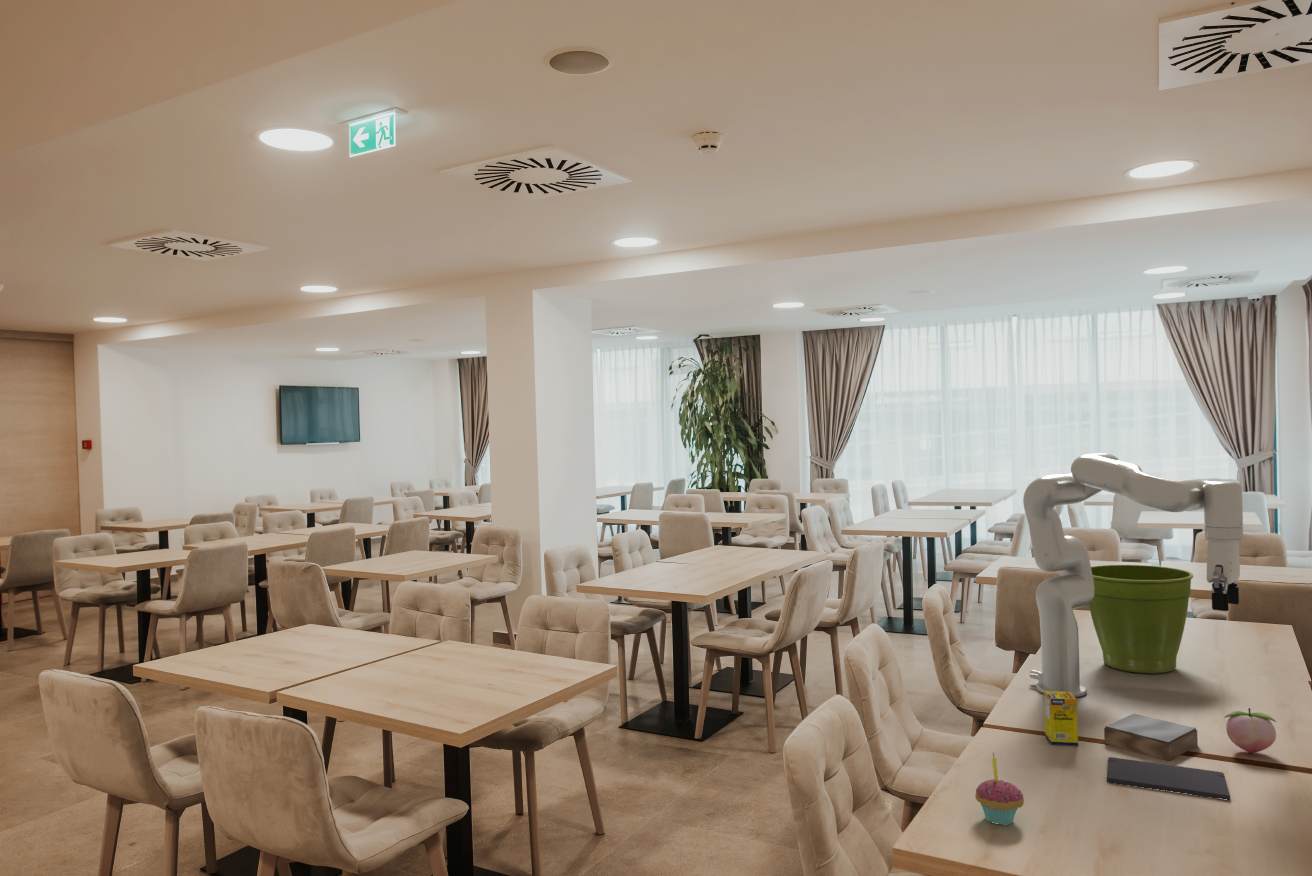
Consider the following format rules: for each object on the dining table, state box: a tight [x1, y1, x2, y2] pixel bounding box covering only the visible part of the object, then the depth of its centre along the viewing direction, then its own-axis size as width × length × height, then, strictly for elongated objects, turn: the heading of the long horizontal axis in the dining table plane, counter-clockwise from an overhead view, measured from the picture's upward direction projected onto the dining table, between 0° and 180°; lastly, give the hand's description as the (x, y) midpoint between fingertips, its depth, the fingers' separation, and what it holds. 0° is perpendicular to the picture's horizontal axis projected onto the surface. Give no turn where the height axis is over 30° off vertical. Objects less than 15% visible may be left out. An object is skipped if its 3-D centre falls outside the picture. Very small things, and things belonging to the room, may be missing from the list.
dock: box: [1103, 713, 1199, 762], centre depth 197 cm, size 14×14×4 cm
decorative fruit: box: [1224, 707, 1277, 754], centre depth 190 cm, size 9×8×10 cm
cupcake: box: [974, 752, 1025, 825], centre depth 162 cm, size 9×8×12 cm
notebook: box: [1106, 756, 1231, 801], centre depth 177 cm, size 13×2×21 cm
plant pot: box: [1088, 564, 1194, 674], centre depth 259 cm, size 30×30×29 cm
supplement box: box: [1043, 691, 1079, 747], centre depth 200 cm, size 6×6×11 cm
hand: (1225, 606), depth 201 cm, fingers open, 9 cm apart
